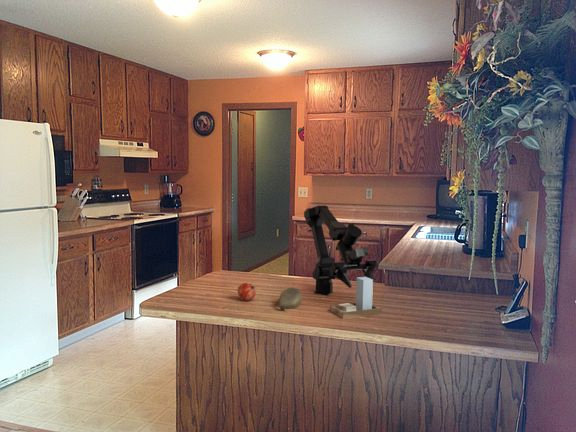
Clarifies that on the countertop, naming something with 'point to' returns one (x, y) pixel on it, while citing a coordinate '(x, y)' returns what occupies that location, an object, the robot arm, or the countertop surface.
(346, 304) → the offcut upper
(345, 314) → the wooden tray
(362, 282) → the pale blue rectangular block
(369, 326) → the countertop surface
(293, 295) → the stone
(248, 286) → the pomegranate
